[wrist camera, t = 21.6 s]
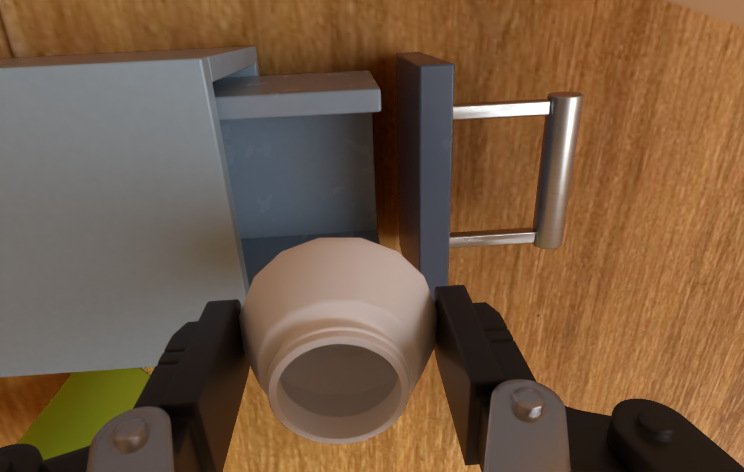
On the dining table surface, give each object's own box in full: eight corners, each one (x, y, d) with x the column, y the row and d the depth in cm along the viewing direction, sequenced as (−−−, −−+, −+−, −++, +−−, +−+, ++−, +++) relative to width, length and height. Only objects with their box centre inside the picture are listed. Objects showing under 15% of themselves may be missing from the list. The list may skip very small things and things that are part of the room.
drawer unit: (256, 45, 23) (201, 57, 14) (285, 254, 28) (257, 360, 19) (-26, 59, 22) (-265, 81, 13) (54, 269, 27) (-84, 384, 18)
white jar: (223, 355, 13) (385, 403, 14) (191, 443, 10) (394, 494, 11) (283, 200, 11) (465, 270, 12) (264, 259, 8) (499, 341, 9)
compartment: (544, 45, 23) (637, 54, 15) (524, 236, 27) (589, 311, 20) (161, 64, 22) (73, 83, 15) (203, 257, 26) (152, 342, 19)
